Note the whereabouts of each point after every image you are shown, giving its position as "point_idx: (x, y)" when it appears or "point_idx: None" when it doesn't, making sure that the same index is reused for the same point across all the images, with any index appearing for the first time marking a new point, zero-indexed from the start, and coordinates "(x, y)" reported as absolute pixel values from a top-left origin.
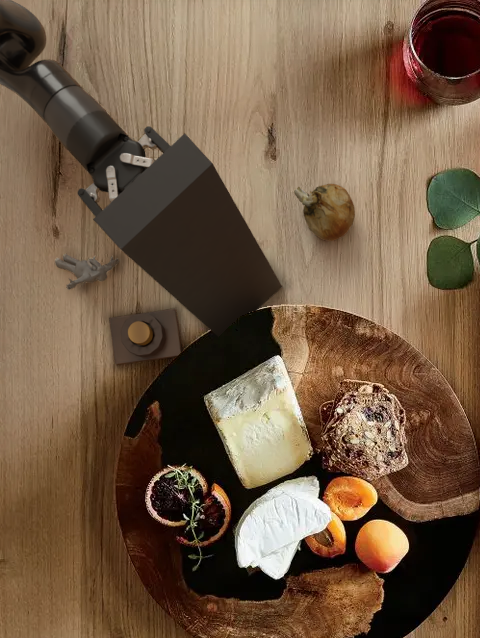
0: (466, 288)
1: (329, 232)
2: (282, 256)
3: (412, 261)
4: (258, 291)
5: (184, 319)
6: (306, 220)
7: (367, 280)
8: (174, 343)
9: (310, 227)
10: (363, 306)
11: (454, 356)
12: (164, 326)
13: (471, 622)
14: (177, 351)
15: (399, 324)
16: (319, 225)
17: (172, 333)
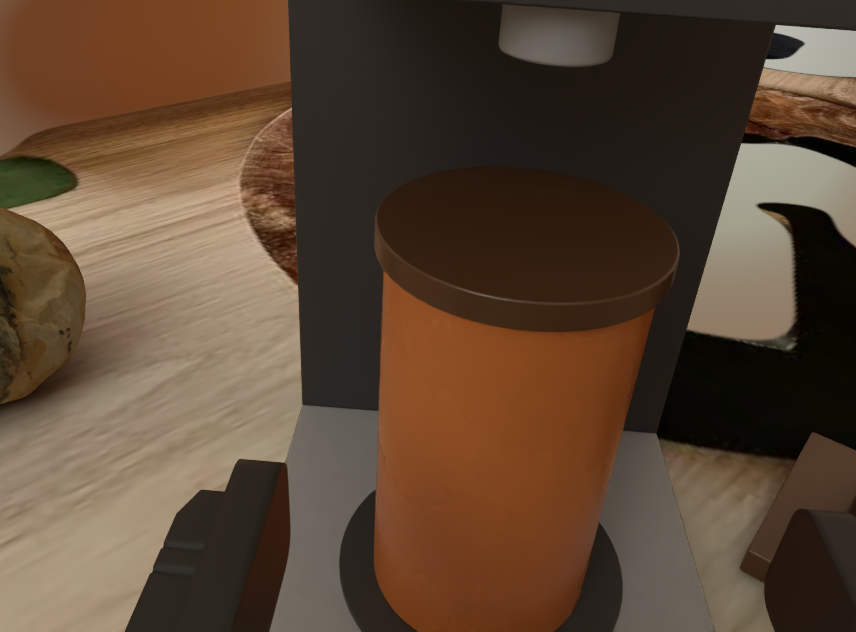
0: (46, 156)
1: (53, 237)
2: (222, 418)
3: None
4: None
5: (725, 524)
6: (38, 336)
7: (145, 254)
8: (821, 469)
9: (61, 324)
10: (222, 236)
11: (210, 132)
12: None
13: None
14: (821, 446)
15: (212, 189)
16: (42, 257)
17: (811, 496)
